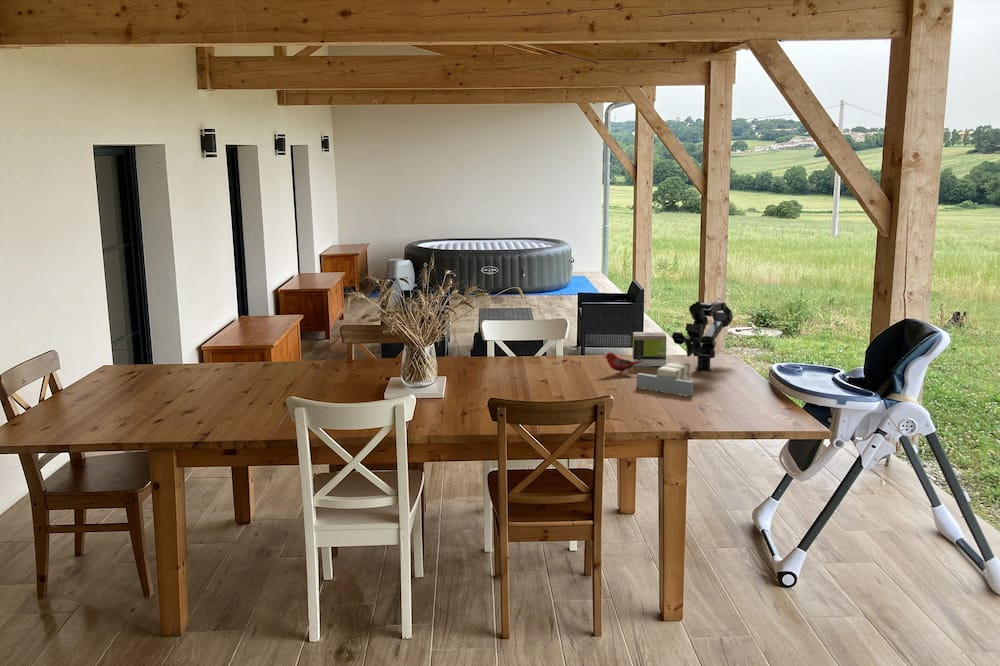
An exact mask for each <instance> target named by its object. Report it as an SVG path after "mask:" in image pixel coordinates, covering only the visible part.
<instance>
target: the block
mask: <svg viewBox="0 0 1000 666" xmlns="http://www.w3.org/2000/svg"><path fill="white" fill-rule="evenodd" d="M690 370H691V364H690V363H685V362H679V361H671V362H668V363H666V365H665V366H663V367H658V368H657V369H656V376H662V377H669V378H675V379H682V380H688V381H690V373H691V372H690Z"/></svg>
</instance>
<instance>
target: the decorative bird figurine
mask: <svg viewBox="0 0 1000 666" xmlns="http://www.w3.org/2000/svg"><path fill="white" fill-rule="evenodd" d="M604 358H605V359H606V361H607V362H608V365H609V367H610V368H611V369H612V370H614V371H618V372H616V373H615V372H613V373H612V374H614V375H623V374H624V371H626V370H628V369H631V368H632V367H634V365H635V364H637V363H640V362H643V361H636V362H633V361H631V360H628V359H625V358H623V357H618V356H617V355H616V354H614V353H612V352H608V353H606V355H605V356H604Z"/></svg>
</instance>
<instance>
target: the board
mask: <svg viewBox="0 0 1000 666" xmlns="http://www.w3.org/2000/svg"><path fill="white" fill-rule="evenodd" d="M637 387H638V388H637ZM636 388H637V389H640V388H644V389H643V390H646V389H652V390H657V391H656V392H658V391H663V392H662V393H664V392H668V393H667V394H670V393H675V394H674V395H676V394H682V395H687V396H686V397H688V396H691V395H693V396H694V381H693V380H689V381H688V380H682V379H675V378H669V377H662V376H657V374H656V375H655V374H649V373H641V372H638V373H637V374H636ZM652 390H651V391H652ZM682 395H681V396H682ZM691 397H692V396H691Z"/></svg>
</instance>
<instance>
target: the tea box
mask: <svg viewBox="0 0 1000 666" xmlns="http://www.w3.org/2000/svg"><path fill="white" fill-rule="evenodd" d="M636 361H643V362H640V363H637V364H635V365H633V367H651V366H660V367H659V368H661V367H663V366H665V365H666V364H667V334H666V332H664V331H661V332H659V331H657V332H656V331H633V332H632V362H636Z"/></svg>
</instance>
